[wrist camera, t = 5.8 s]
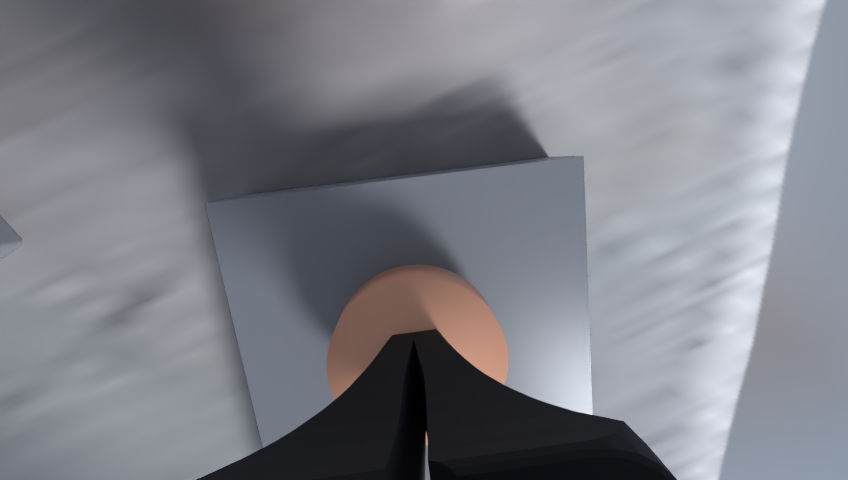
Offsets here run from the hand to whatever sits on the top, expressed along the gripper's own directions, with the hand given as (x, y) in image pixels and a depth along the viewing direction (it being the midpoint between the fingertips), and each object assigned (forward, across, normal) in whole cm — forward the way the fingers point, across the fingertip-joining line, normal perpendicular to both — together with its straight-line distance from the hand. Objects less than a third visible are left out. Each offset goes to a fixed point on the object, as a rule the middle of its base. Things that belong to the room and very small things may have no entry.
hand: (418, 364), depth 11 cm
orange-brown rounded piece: (+4, 0, 0) cm, 4 cm away
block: (+6, 0, +6) cm, 8 cm away
